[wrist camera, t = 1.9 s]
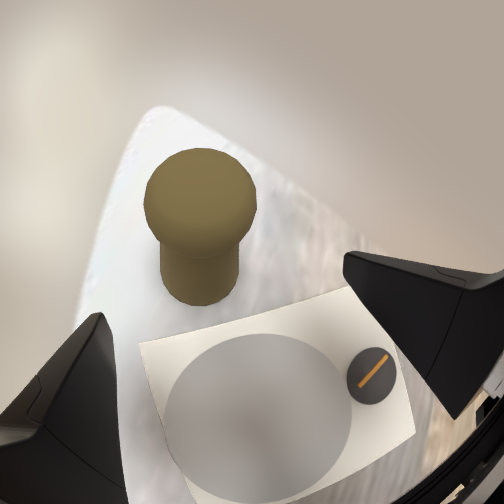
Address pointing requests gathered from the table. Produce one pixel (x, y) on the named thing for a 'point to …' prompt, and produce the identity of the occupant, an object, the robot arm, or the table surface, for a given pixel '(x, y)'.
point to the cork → (200, 222)
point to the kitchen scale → (279, 400)
